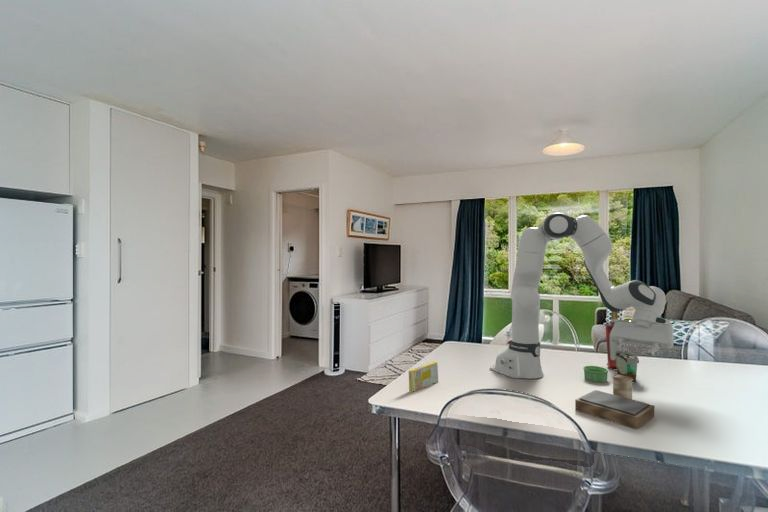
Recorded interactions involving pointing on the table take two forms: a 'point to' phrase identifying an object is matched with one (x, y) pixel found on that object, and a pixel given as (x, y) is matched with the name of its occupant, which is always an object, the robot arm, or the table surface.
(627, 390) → the tan cylinder
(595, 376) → the ramekin
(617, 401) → the brown flat block
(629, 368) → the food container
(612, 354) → the liquor
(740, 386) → the table surface
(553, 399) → the table surface
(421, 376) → the candy box
